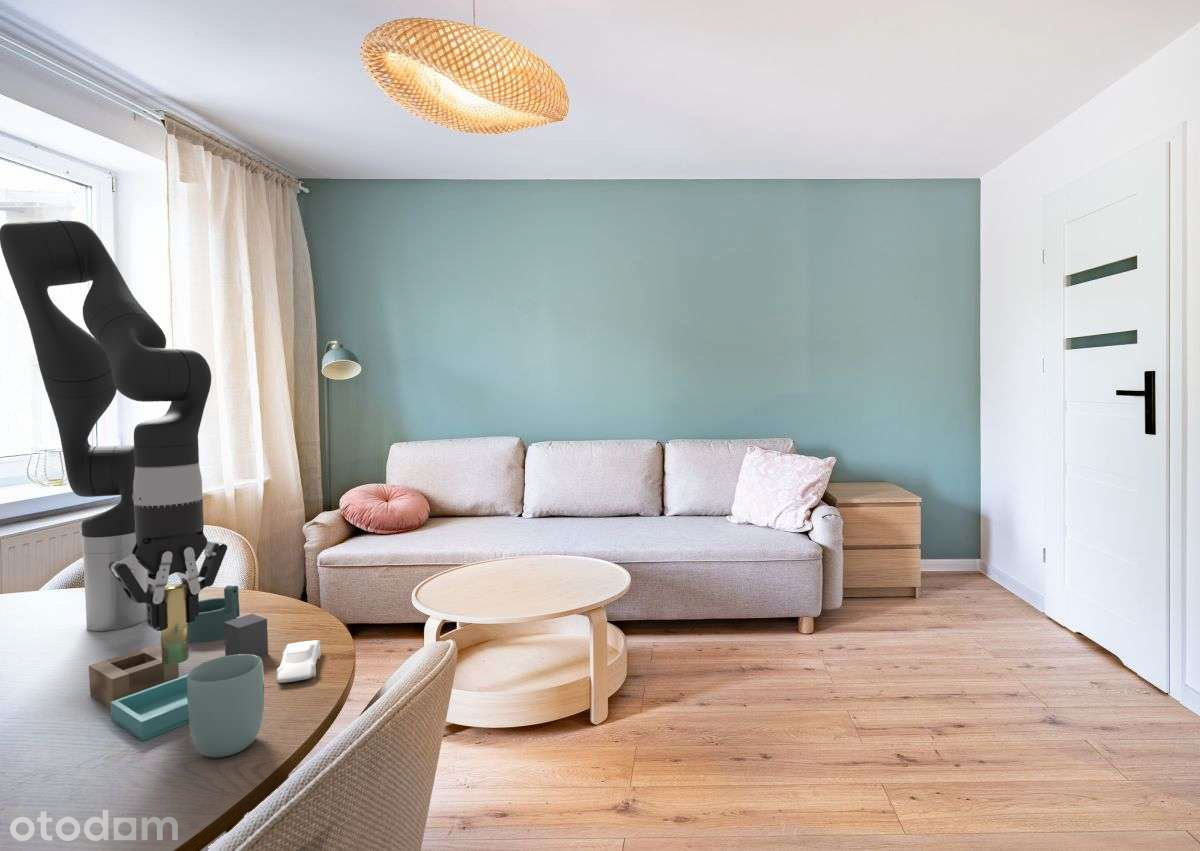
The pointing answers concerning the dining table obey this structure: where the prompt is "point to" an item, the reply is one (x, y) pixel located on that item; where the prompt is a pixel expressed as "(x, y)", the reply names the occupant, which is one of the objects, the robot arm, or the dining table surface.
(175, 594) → the pin
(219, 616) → the bracket
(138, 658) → the socket
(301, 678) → the toy car
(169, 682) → the tray
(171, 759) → the dining table surface
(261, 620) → the dark grey block
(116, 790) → the dining table surface
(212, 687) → the cup
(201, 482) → the robot arm
